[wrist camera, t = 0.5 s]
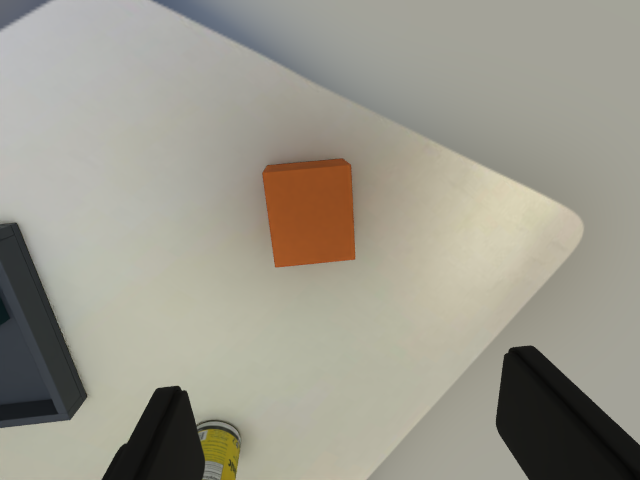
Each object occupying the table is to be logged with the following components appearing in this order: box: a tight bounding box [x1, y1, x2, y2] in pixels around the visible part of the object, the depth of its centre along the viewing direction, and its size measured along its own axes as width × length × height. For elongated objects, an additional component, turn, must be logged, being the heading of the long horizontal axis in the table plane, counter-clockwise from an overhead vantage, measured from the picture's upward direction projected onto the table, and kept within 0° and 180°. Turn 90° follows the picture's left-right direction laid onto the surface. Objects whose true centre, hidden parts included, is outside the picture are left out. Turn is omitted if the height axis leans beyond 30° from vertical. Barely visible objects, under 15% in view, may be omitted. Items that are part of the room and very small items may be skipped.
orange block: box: [262, 159, 355, 267], centre depth 25 cm, size 7×6×4 cm
